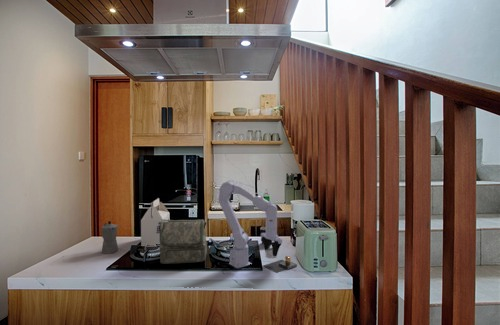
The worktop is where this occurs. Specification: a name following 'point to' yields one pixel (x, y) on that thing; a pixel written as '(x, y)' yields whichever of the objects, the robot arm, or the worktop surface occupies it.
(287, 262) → the doorknob
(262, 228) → the coffee mug
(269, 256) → the ring
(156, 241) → the gable box
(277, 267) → the mat
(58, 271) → the worktop surface
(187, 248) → the lunch bag
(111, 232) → the coffeepot
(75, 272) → the worktop surface
